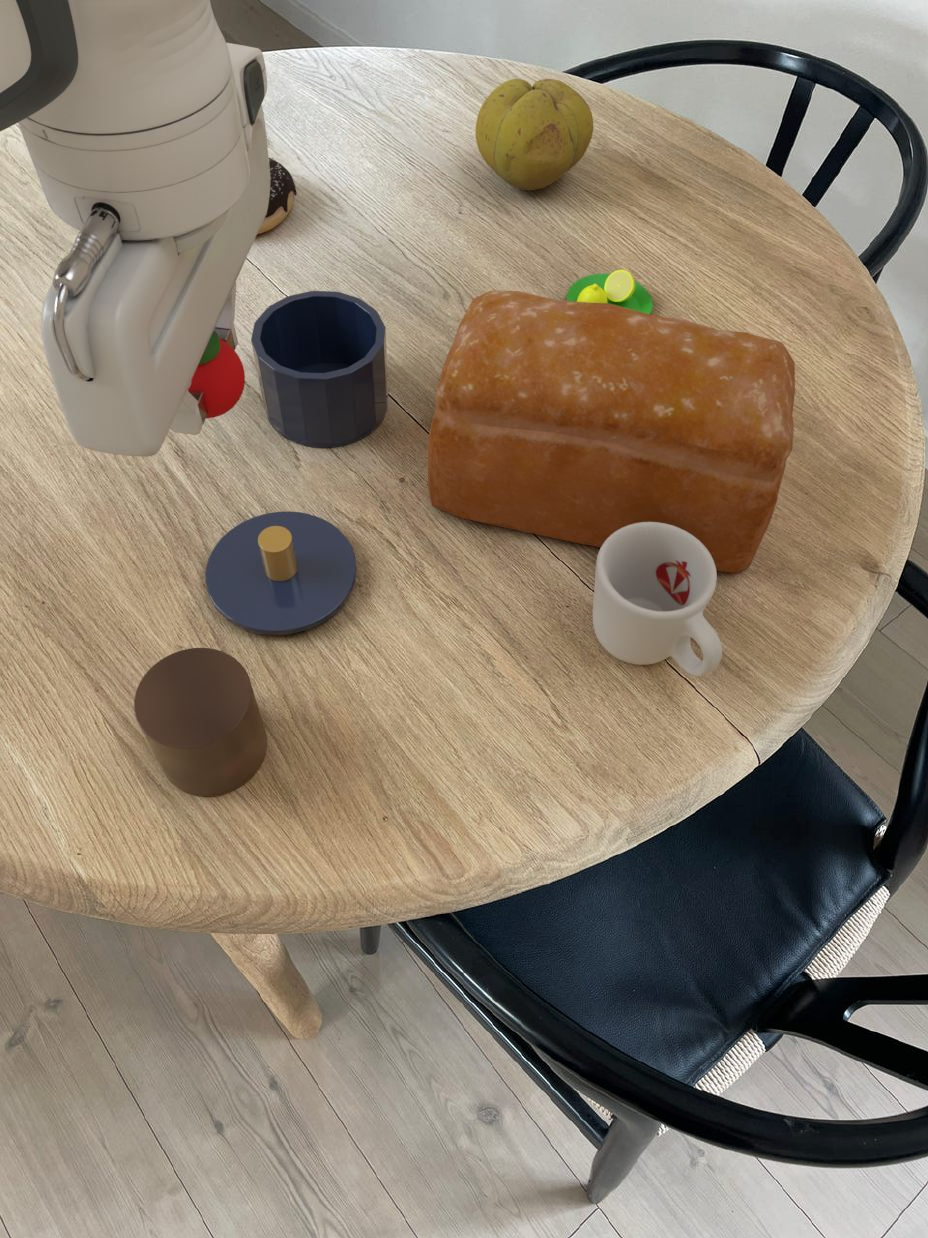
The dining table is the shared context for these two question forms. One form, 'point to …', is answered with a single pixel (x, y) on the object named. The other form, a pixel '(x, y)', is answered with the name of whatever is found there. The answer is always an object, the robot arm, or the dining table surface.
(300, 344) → the pot
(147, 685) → the stand
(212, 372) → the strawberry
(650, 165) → the dining table surface
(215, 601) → the pot lid
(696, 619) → the cup
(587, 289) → the green dish with lemons
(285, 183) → the donut
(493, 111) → the fruit
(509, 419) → the bread
